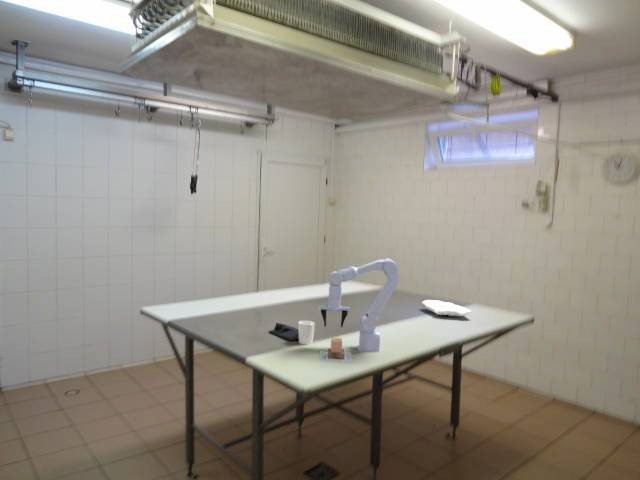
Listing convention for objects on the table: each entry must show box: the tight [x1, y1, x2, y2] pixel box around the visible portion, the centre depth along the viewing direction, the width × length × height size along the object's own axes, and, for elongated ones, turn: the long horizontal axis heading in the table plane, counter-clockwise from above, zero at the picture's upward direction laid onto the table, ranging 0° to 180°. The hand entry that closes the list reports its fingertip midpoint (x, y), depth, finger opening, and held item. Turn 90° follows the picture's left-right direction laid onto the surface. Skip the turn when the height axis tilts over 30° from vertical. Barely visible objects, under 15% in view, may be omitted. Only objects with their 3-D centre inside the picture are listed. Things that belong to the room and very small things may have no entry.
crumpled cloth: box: [421, 299, 472, 317], centre depth 294 cm, size 24×35×9 cm
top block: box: [330, 337, 343, 353], centre depth 204 cm, size 4×4×5 cm
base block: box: [327, 347, 345, 359], centre depth 204 cm, size 7×7×2 cm
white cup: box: [297, 320, 316, 345], centre depth 223 cm, size 8×8×10 cm
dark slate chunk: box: [268, 322, 299, 342], centre depth 235 cm, size 15×22×5 cm
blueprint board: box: [319, 350, 354, 364], centre depth 204 cm, size 14×14×1 cm
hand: (333, 326), depth 216 cm, fingers open, 7 cm apart
